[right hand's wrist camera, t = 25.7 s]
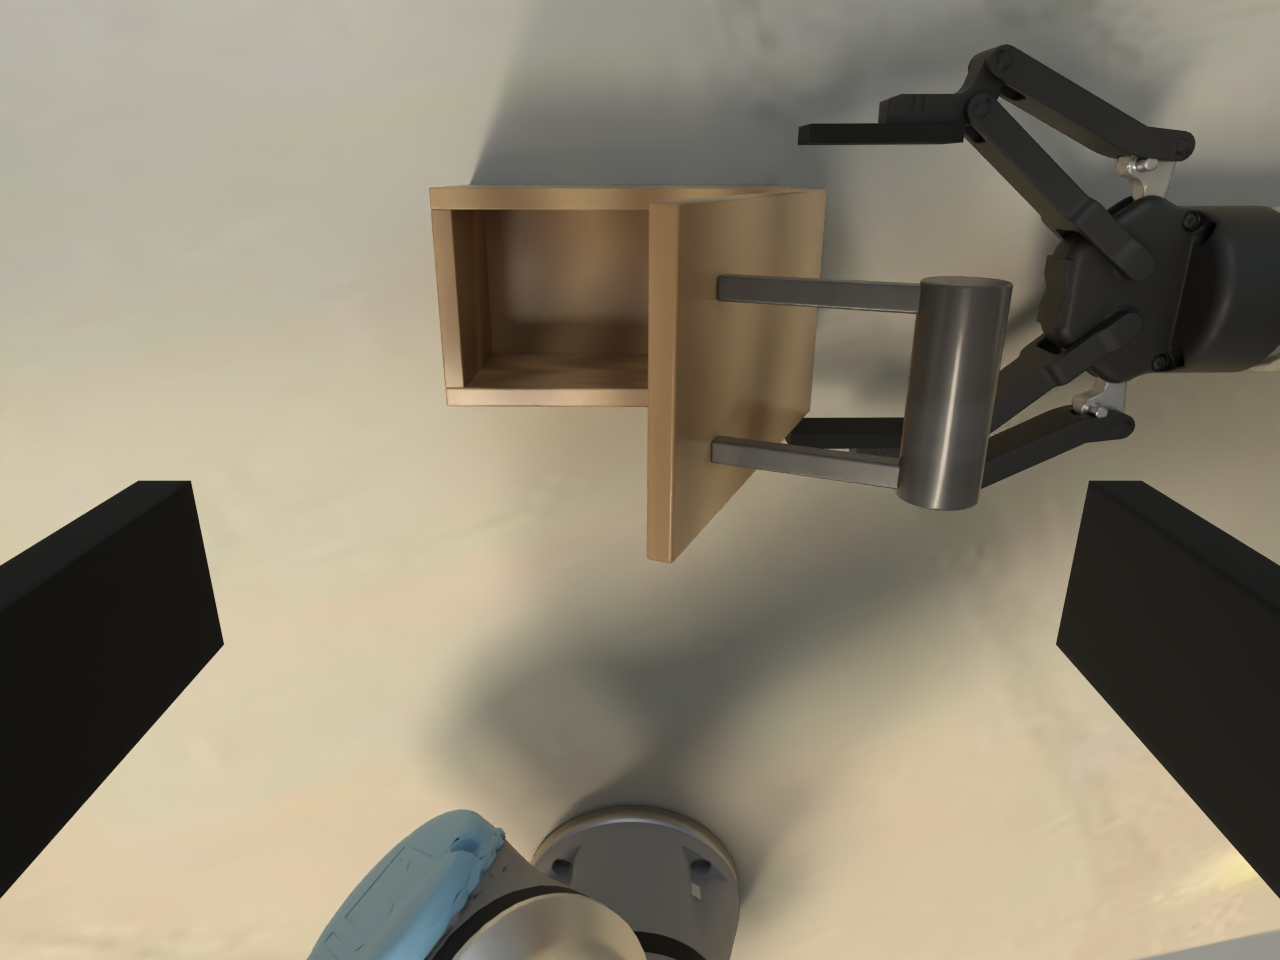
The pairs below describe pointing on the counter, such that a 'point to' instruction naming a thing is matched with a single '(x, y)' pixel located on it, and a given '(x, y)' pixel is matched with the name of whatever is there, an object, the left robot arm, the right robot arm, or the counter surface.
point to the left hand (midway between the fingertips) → (793, 293)
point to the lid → (795, 362)
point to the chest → (548, 290)
